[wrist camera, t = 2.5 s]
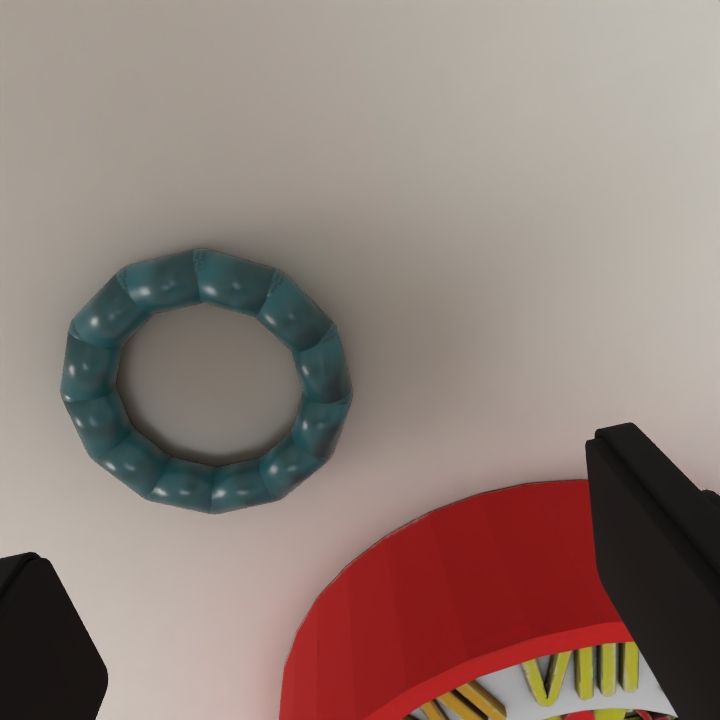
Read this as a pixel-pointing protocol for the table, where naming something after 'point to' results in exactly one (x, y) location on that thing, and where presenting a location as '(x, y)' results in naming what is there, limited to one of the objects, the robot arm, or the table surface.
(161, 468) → the ring
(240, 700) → the table surface
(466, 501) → the toy clock
